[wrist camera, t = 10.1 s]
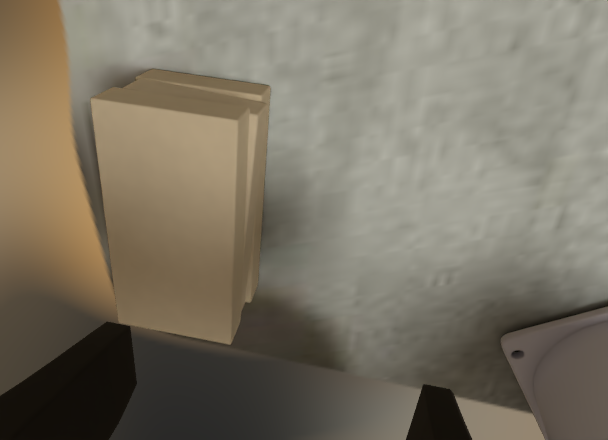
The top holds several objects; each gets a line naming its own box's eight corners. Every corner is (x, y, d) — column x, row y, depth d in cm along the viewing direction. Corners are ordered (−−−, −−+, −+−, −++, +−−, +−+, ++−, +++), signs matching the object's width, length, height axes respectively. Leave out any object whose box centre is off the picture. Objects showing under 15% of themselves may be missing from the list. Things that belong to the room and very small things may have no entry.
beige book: (245, 302, 21) (236, 324, 20) (144, 279, 21) (130, 299, 20) (268, 103, 16) (258, 115, 15) (140, 77, 17) (120, 87, 16)
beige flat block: (258, 284, 22) (250, 303, 21) (163, 266, 23) (150, 284, 21) (271, 85, 18) (262, 95, 16) (151, 68, 18) (133, 76, 17)
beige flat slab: (241, 321, 20) (231, 345, 19) (134, 301, 20) (117, 323, 19) (250, 106, 15) (238, 120, 14) (112, 86, 16) (89, 97, 14)
